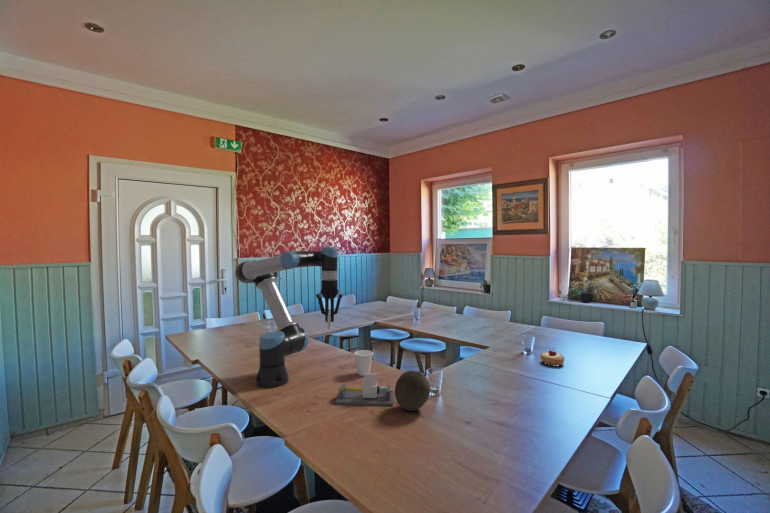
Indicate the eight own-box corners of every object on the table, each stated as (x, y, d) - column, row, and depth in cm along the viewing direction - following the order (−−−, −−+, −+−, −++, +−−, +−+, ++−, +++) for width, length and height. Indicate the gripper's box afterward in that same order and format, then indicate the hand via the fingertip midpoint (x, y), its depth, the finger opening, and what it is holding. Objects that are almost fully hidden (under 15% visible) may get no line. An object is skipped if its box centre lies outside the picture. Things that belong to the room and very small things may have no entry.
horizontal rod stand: (335, 404, 149) (335, 390, 149) (340, 392, 161) (340, 379, 161) (392, 405, 148) (392, 392, 148) (393, 393, 160) (393, 381, 160)
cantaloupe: (420, 420, 136) (420, 381, 135) (388, 411, 143) (388, 374, 143) (435, 406, 148) (435, 370, 147) (405, 398, 155) (405, 364, 155)
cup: (370, 378, 178) (370, 356, 177) (351, 376, 180) (351, 355, 179) (375, 371, 188) (375, 350, 187) (357, 369, 190) (357, 349, 189)
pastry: (541, 366, 198) (540, 350, 197) (540, 359, 209) (540, 344, 208) (565, 368, 193) (565, 352, 193) (563, 361, 204) (563, 346, 204)
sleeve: (362, 397, 152) (362, 375, 152) (363, 392, 157) (364, 371, 157) (376, 398, 152) (376, 376, 151) (377, 393, 157) (377, 371, 156)
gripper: (314, 280, 166) (314, 330, 167) (341, 280, 166) (341, 330, 166) (317, 278, 174) (318, 326, 175) (344, 278, 173) (344, 327, 174)
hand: (329, 328), depth 171 cm, fingers closed
